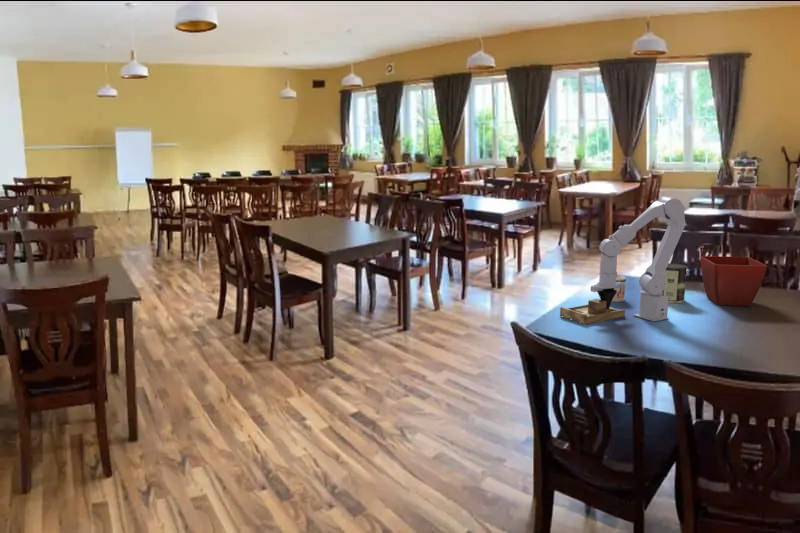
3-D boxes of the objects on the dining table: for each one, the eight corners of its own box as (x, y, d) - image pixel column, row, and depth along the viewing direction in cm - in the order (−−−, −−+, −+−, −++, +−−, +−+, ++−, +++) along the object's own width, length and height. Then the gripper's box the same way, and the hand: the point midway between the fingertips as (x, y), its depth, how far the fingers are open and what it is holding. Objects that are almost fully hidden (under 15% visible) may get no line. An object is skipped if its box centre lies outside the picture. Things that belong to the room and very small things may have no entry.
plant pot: (744, 296, 285) (748, 256, 282) (763, 308, 267) (768, 265, 263) (696, 295, 287) (699, 255, 284) (711, 307, 268) (715, 264, 265)
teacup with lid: (620, 303, 275) (622, 274, 272) (598, 300, 280) (599, 271, 277) (629, 297, 285) (631, 269, 282) (607, 294, 290) (608, 266, 287)
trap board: (624, 316, 256) (625, 307, 255) (584, 324, 246) (585, 315, 245) (599, 309, 266) (599, 300, 265) (560, 316, 256) (560, 307, 255)
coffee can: (678, 296, 285) (681, 263, 282) (688, 303, 275) (691, 268, 272) (653, 296, 285) (655, 263, 283) (662, 303, 275) (664, 268, 272)
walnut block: (605, 313, 253) (606, 301, 252) (598, 315, 250) (598, 303, 249) (595, 310, 256) (596, 298, 255) (587, 312, 254) (588, 300, 253)
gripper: (613, 268, 259) (611, 303, 262) (585, 272, 252) (583, 308, 255) (628, 271, 253) (626, 308, 256) (599, 276, 246) (597, 313, 249)
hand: (605, 308), depth 255 cm, fingers closed
